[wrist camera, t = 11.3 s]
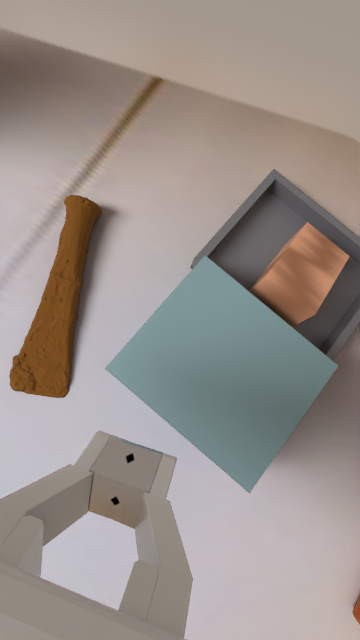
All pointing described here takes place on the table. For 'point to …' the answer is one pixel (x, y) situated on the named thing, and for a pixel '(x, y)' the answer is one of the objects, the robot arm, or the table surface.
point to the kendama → (357, 611)
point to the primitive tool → (57, 310)
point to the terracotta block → (300, 276)
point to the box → (269, 238)
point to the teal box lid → (224, 371)
